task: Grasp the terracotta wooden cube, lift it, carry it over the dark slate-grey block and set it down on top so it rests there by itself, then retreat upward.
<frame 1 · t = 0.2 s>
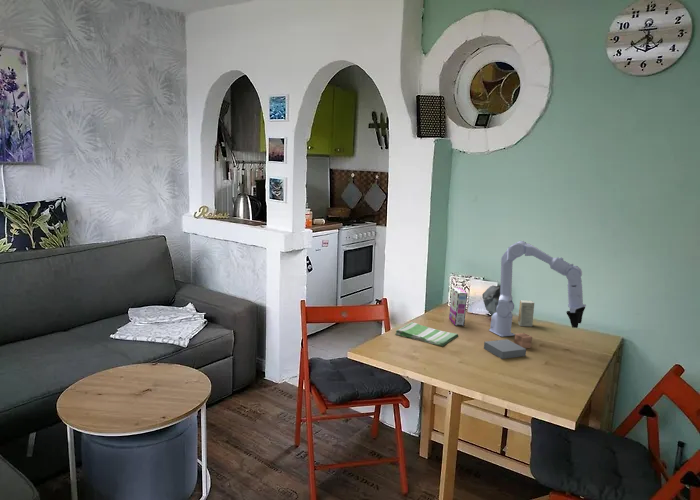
hand: (576, 325, 220), 11 cm above the table, tool pointing down, fingers open, 7 cm apart
skincare box: (524, 325, 252), on the table
candy bar box: (456, 322, 251), on the table
gray rock: (493, 319, 259), on the table
terracotta cube: (522, 346, 222), on the table
dish towel: (426, 336, 230), on the table
slate block: (504, 352, 213), on the table
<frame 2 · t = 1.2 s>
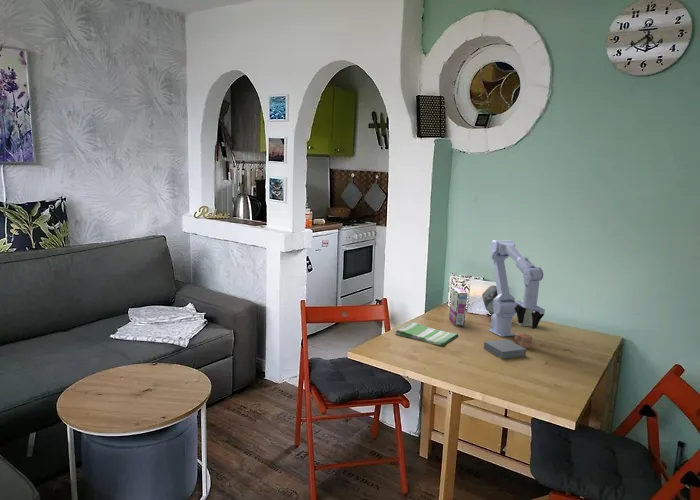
hand: (527, 325, 220), 10 cm above the table, tool pointing down, fingers open, 7 cm apart
nothing on the table moved.
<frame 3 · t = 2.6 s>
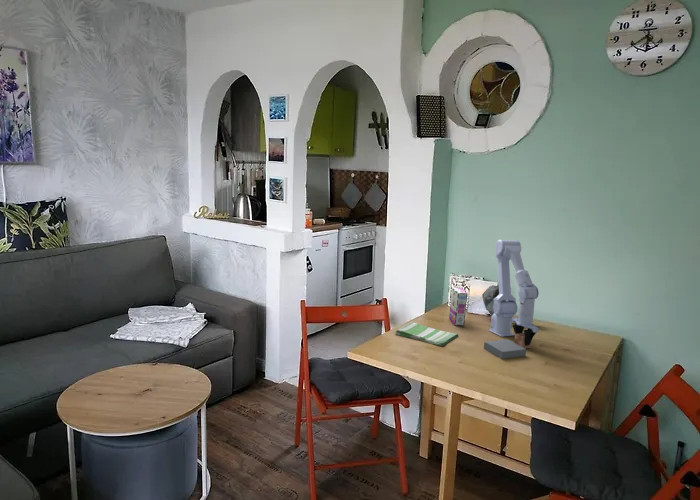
hand: (522, 342, 222), 1 cm above the table, tool pointing down, fingers closed on terracotta cube, 5 cm apart
terracotta cube: (522, 346, 222), on the table, touching gripper
everything else where it was.
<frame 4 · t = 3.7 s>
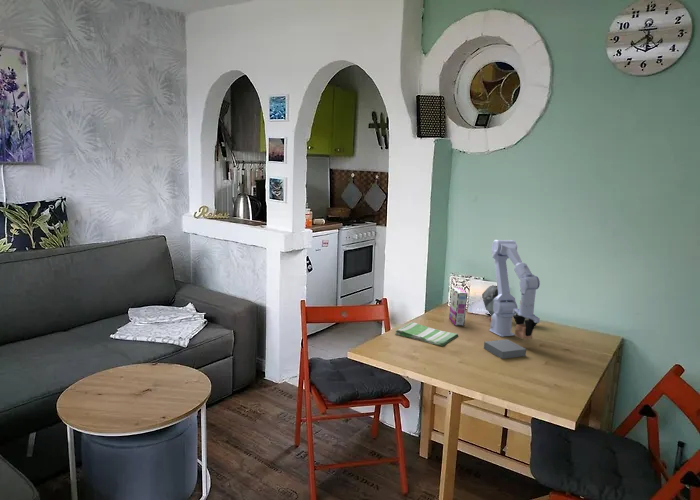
hand: (523, 333, 221), 6 cm above the table, tool pointing down, fingers closed on terracotta cube, 5 cm apart
terracotta cube: (523, 336, 221), point 4 cm above the table, touching gripper
everything else where it was.
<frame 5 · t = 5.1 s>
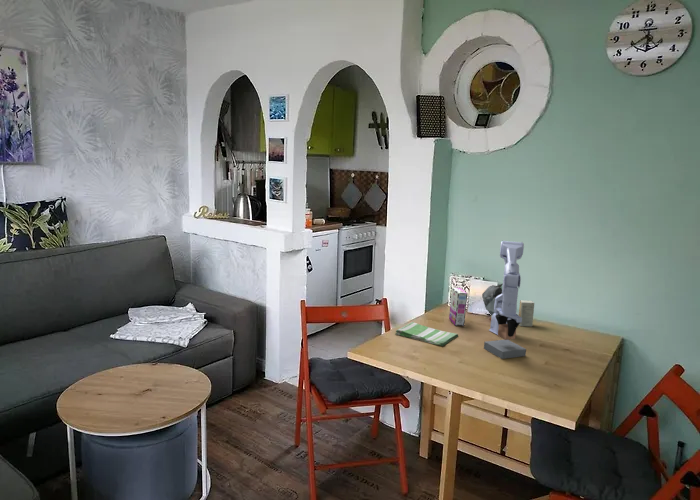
hand: (506, 334, 212), 8 cm above the table, tool pointing down, fingers closed on terracotta cube, 5 cm apart
terracotta cube: (506, 337, 212), point 6 cm above the table, touching gripper
everything else where it was.
when the fingers open (6 cm above the table, at t = 5.9 s): terracotta cube drops 1 cm, resting on slate block.
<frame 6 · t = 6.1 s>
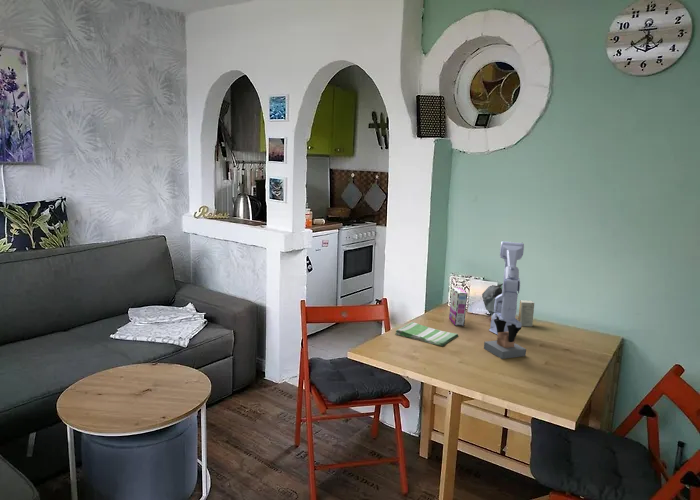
hand: (505, 338, 212), 6 cm above the table, tool pointing down, fingers open, 6 cm apart
terracotta cube: (505, 345, 213), point 3 cm above the table, touching slate block
everything else where it was.
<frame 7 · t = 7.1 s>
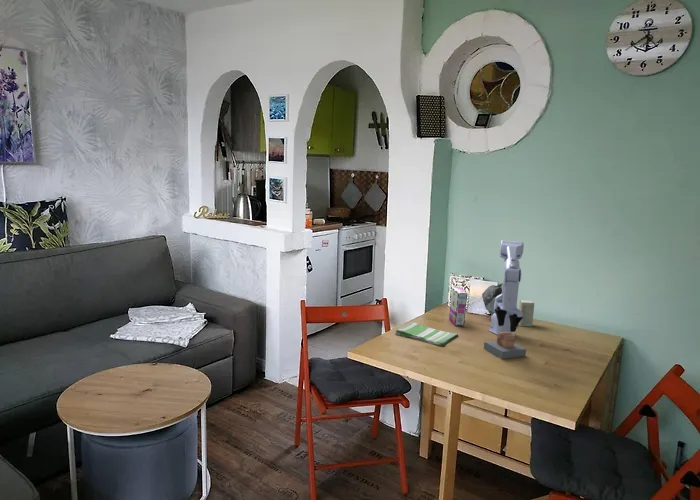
hand: (506, 328, 211), 10 cm above the table, tool pointing down, fingers open, 7 cm apart
nothing on the table moved.
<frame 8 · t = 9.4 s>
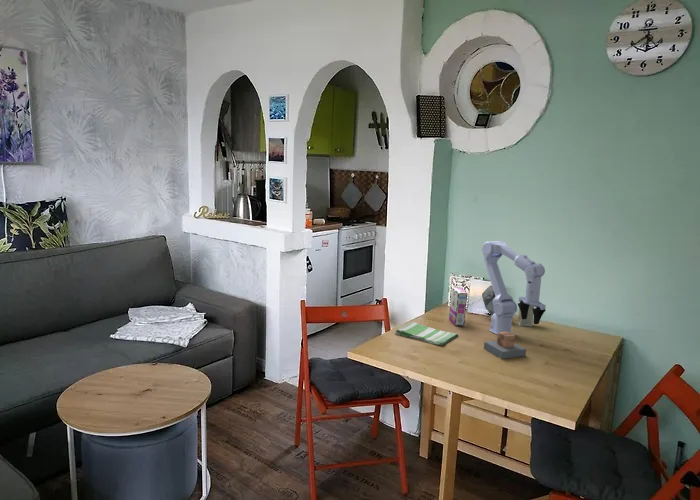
hand: (530, 321, 223), 10 cm above the table, tool pointing down, fingers open, 7 cm apart
at the end: terracotta cube inside the target area on the slate block (0.2 cm from its centre), point 3.0 cm above the slate block's base; terracotta cube tilted 0°; the gripper is holding nothing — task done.
